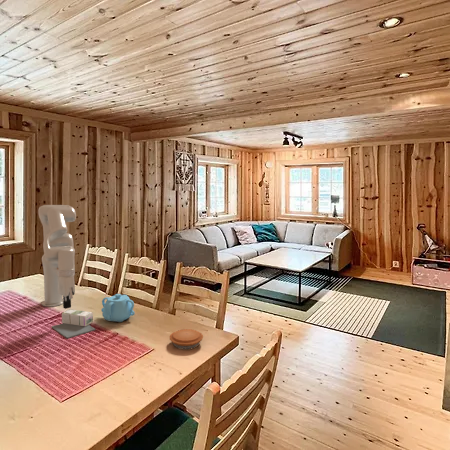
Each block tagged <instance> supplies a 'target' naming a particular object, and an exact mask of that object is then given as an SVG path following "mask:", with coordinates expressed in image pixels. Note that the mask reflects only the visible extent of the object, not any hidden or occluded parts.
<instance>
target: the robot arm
mask: <svg viewBox="0 0 450 450" xmlns="http://www.w3.org/2000/svg"><path fill="white" fill-rule="evenodd" d="M37 212H38V218H39V220H40V223H41V225H42V228H43V229H42V230H43V243H42V245H43V246H42V248H43V254H42V257H41V262H42V263H41V264H42V268H43V269H42V270H43V285H44V287H43V288H44V290H43V292H44V295H43V296H44V300H43V301H41V306H43V307H46V308H47V307H50V308H51V307H56V306H61V305H62V308H63V309H65V310H66V309H67V310H68V309H69V308H70V309H71V307H72V299H74V295H75V293H76V285H75V275H76V272H75V271H76V270H75V269H76V268H75V267H76V266H75V265H76V264H75V255H76V249H75V248H74V245H75V244H74V239H73V235H72V234H71V233H68V226H67V223H72V222H75V221H76V218H77V213H76V209H75V208H74V207H73V206H71V205H69V204H66V205H65V204H44V205H40V206H39V207H38V211H37Z"/></svg>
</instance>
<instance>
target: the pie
mask: <svg viewBox="0 0 450 450" xmlns="http://www.w3.org/2000/svg"><path fill="white" fill-rule="evenodd" d="M203 338H204V336H203V334H202V332H200V331H197V330H195V329H189V328H186V329H184V328H183V329H180V330H176V331H174V332H173V331H172V333H171V334H169V340H170V341H171V342H172V344H173V345H174V347H175V348H177V349H180V350H192V349H195V348H196V346H197V345H198V346H199V344H200V343H201V341H203ZM198 346H197V347H198ZM194 347H195V348H194ZM191 348H192V349H191Z"/></svg>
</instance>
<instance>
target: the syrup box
mask: <svg viewBox="0 0 450 450" xmlns="http://www.w3.org/2000/svg"><path fill="white" fill-rule="evenodd" d="M93 322H94V315H93V312H91V311H84V310H77V309H71V308H70V309H69V308H68V309H67V310H65V311H63V312H62V313H61V324H63V323H65V324H72V325H79V326H87V325H90V324H92V323H93Z"/></svg>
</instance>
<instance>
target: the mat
mask: <svg viewBox="0 0 450 450" xmlns="http://www.w3.org/2000/svg"><path fill="white" fill-rule="evenodd" d="M51 328H52V329H53V330H55V331H56V332H57V333H58V334H60V335H61V336H62V337H64V338H65V339H71V338H74V337H77V336H81V335H84V334H87V333H90V332H93V331H96V328H95V327H93V326H91V325H90V324H89V325H87V326H79V325H72V324H65V323H58V324H56V325H52V326H51Z"/></svg>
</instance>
